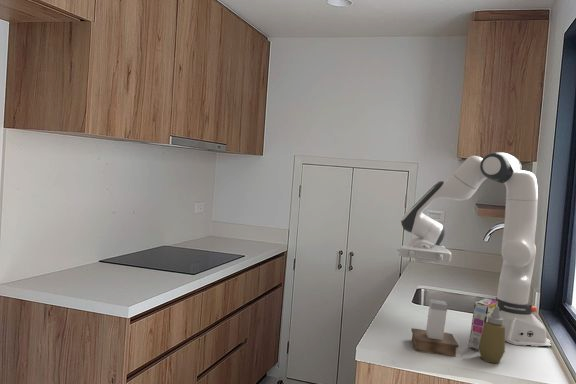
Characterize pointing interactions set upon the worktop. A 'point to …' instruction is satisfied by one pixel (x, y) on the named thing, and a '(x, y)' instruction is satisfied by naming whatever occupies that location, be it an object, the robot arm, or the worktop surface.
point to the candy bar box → (480, 320)
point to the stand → (434, 343)
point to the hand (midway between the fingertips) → (427, 257)
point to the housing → (436, 319)
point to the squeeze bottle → (493, 338)
